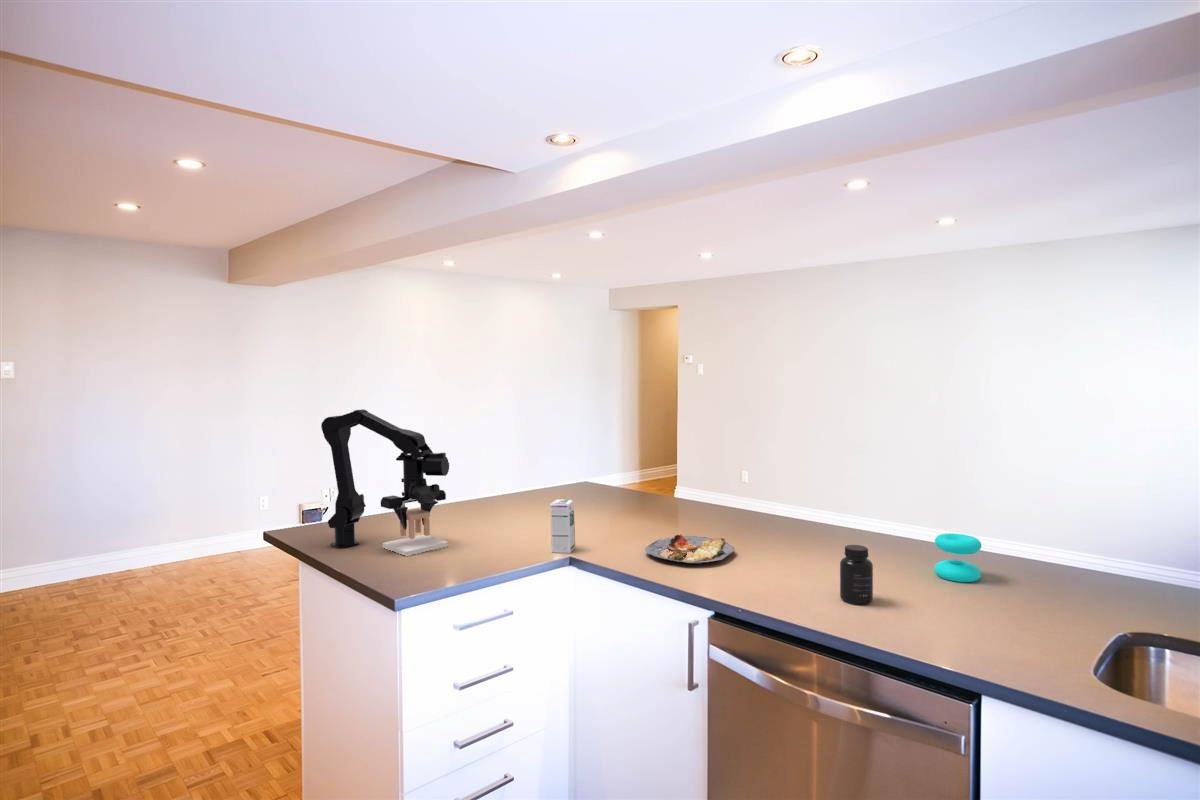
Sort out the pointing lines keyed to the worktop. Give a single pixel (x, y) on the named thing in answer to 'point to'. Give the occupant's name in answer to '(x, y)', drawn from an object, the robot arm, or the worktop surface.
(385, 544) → the white board
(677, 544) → the food plate
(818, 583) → the worktop surface
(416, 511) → the stool
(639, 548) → the worktop surface
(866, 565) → the supplement bottle
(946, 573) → the donuts
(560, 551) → the syrup box
